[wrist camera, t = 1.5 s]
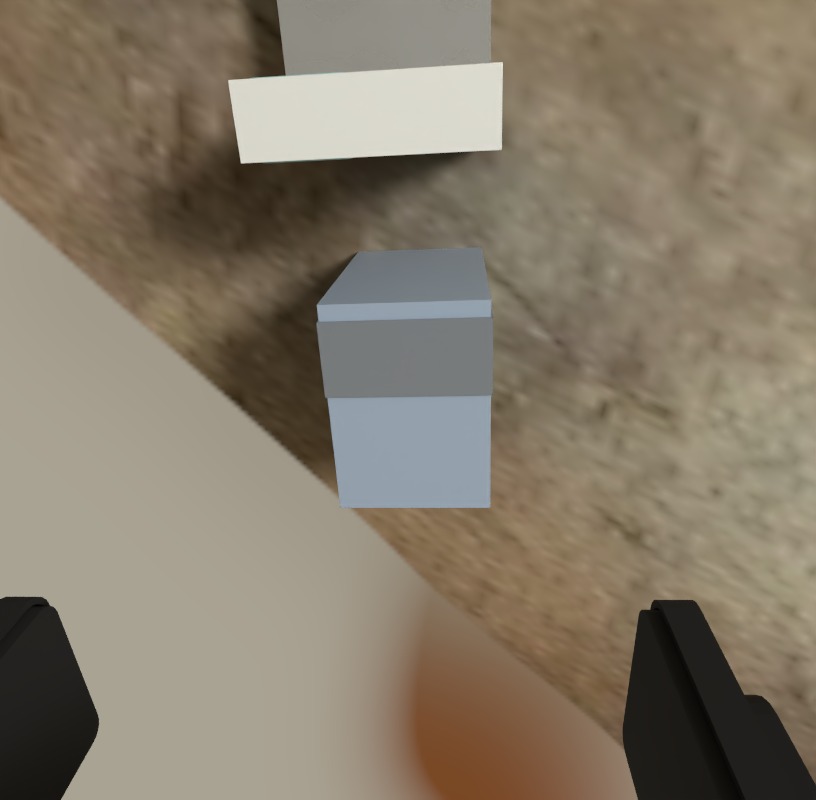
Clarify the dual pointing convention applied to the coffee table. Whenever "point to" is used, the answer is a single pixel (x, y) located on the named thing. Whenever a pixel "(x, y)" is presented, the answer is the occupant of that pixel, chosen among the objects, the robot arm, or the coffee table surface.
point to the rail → (382, 34)
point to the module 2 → (410, 378)
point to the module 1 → (368, 113)
